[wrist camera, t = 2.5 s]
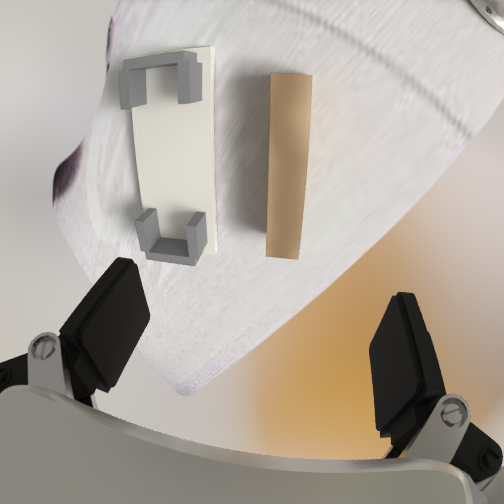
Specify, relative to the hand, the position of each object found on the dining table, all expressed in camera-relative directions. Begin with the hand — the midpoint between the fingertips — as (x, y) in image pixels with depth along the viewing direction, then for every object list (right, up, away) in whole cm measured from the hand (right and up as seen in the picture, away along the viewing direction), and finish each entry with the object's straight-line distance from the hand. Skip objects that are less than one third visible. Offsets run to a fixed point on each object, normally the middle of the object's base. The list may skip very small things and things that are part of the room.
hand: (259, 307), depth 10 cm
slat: (+3, +10, +15) cm, 19 cm away
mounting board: (-8, +11, +16) cm, 21 cm away
